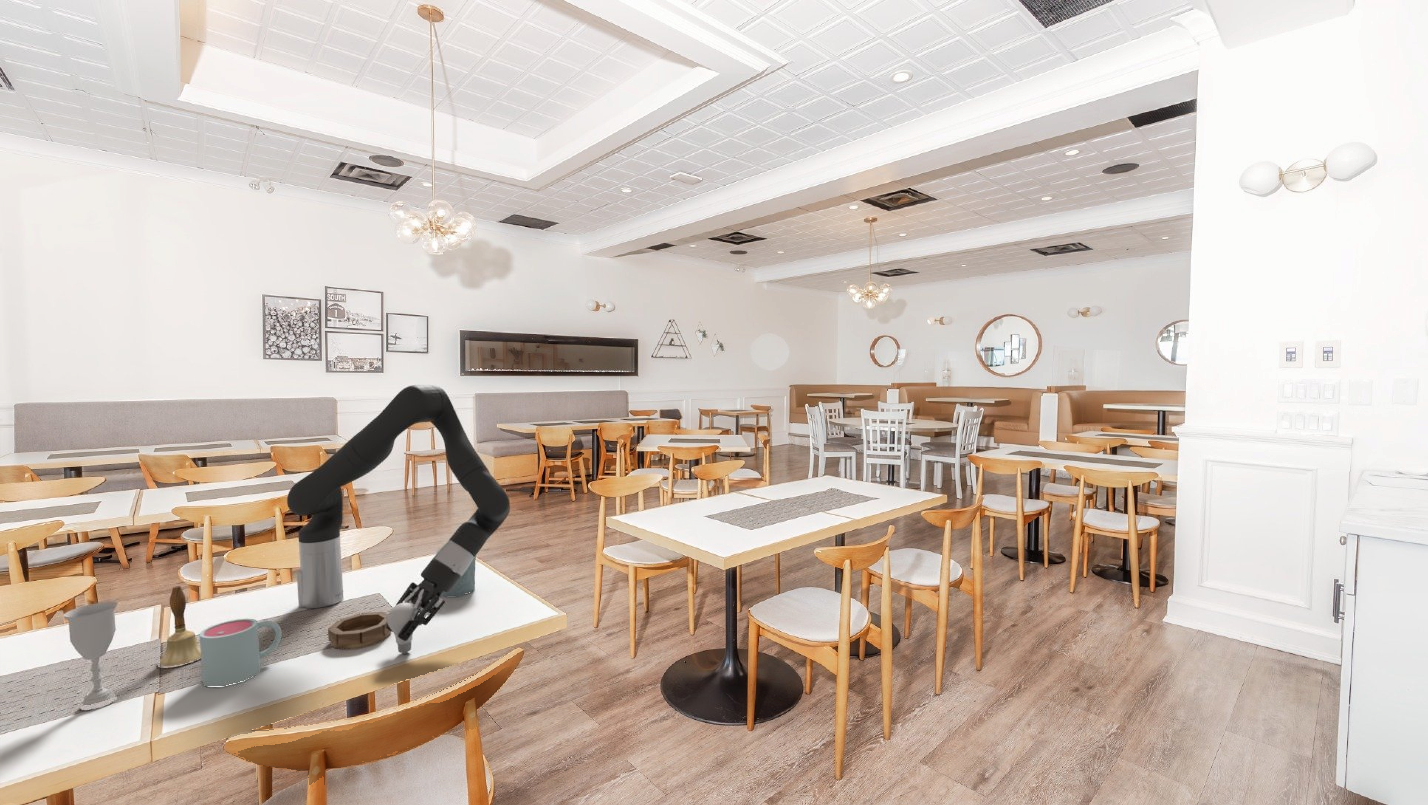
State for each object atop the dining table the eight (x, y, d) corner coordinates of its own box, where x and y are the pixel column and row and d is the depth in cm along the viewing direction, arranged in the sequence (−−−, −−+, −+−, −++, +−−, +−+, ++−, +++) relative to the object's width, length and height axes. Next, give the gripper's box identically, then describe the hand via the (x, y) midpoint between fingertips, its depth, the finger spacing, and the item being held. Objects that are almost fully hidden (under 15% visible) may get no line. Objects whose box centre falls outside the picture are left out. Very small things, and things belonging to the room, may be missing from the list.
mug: (214, 692, 118) (210, 642, 117) (195, 680, 123) (191, 631, 122) (293, 662, 129) (290, 616, 129) (273, 652, 134) (270, 607, 134)
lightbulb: (407, 661, 129) (405, 610, 128) (382, 658, 130) (379, 608, 130) (426, 648, 135) (424, 599, 134) (402, 646, 136) (400, 597, 136)
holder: (320, 651, 134) (319, 635, 134) (345, 628, 146) (345, 614, 146) (378, 647, 136) (377, 631, 136) (399, 624, 148) (398, 610, 147)
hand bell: (151, 672, 126) (145, 596, 125) (164, 656, 134) (159, 584, 133) (202, 663, 130) (197, 589, 129) (212, 647, 137) (207, 577, 136)
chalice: (97, 694, 118) (89, 602, 117) (135, 691, 118) (128, 600, 117) (60, 715, 111) (51, 618, 110) (100, 713, 111) (92, 616, 110)
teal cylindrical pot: (465, 582, 177) (463, 541, 176) (485, 589, 171) (484, 546, 170) (431, 593, 168) (429, 550, 168) (451, 601, 162) (449, 556, 162)
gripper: (422, 551, 142) (369, 617, 134) (450, 564, 132) (394, 636, 124) (446, 567, 146) (396, 633, 138) (474, 581, 136) (422, 652, 128)
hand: (395, 634), depth 131 cm, fingers closed on lightbulb, 6 cm apart
